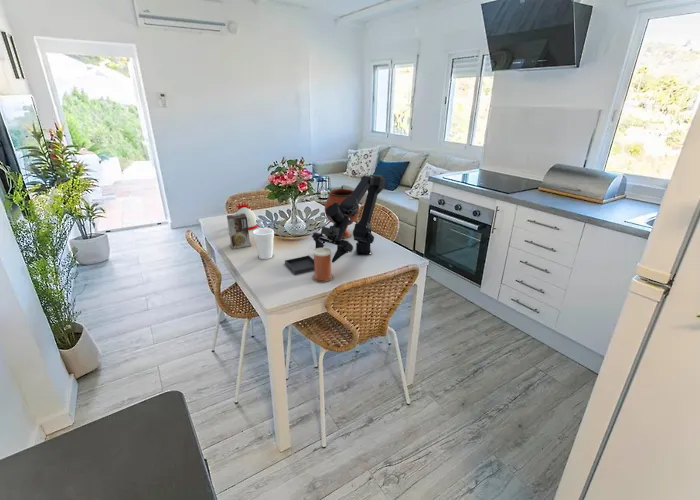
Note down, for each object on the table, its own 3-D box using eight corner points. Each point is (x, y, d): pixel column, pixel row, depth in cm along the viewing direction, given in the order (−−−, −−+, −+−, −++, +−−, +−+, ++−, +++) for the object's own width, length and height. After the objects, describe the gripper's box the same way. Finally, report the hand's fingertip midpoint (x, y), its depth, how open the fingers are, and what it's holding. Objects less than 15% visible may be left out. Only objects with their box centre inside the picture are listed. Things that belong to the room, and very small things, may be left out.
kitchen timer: (234, 223, 212) (231, 199, 206) (258, 221, 215) (255, 198, 209) (233, 231, 199) (230, 205, 193) (258, 229, 202) (255, 204, 196)
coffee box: (248, 242, 185) (245, 212, 178) (250, 246, 180) (247, 216, 173) (230, 244, 181) (226, 215, 175) (232, 249, 176) (228, 218, 169)
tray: (309, 258, 167) (309, 255, 166) (320, 268, 157) (320, 265, 156) (284, 264, 161) (284, 260, 160) (294, 274, 152) (294, 271, 151)
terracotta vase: (331, 228, 206) (331, 186, 197) (362, 231, 202) (364, 189, 192) (320, 239, 190) (319, 194, 180) (354, 243, 185) (355, 197, 175)
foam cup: (265, 262, 163) (263, 236, 157) (251, 257, 167) (248, 232, 162) (279, 255, 170) (277, 230, 165) (265, 251, 174) (263, 226, 169)
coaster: (331, 273, 154) (331, 271, 153) (332, 281, 146) (332, 280, 146) (313, 273, 153) (313, 272, 153) (313, 282, 145) (313, 281, 145)
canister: (326, 271, 154) (326, 246, 149) (334, 278, 148) (334, 252, 143) (311, 274, 150) (310, 249, 146) (318, 282, 145) (317, 255, 140)
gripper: (313, 214, 149) (297, 246, 145) (349, 223, 139) (333, 257, 135) (325, 226, 158) (310, 256, 154) (359, 235, 148) (344, 268, 145)
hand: (323, 259), depth 147 cm, fingers open, 9 cm apart
